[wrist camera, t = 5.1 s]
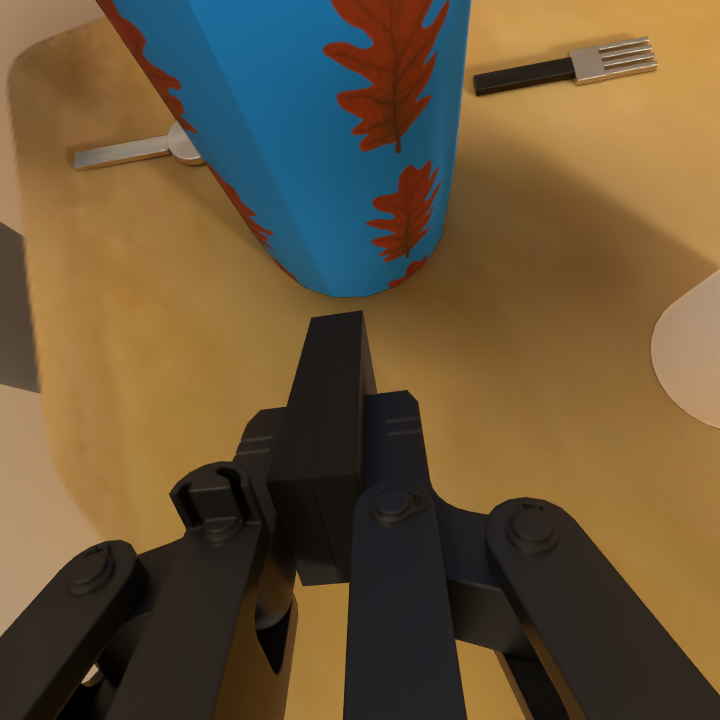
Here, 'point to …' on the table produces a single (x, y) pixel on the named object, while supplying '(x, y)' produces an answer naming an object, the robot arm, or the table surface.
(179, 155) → the metal disc paddle
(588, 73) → the fork
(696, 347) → the cylindrical container
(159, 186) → the table surface
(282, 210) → the thermos
